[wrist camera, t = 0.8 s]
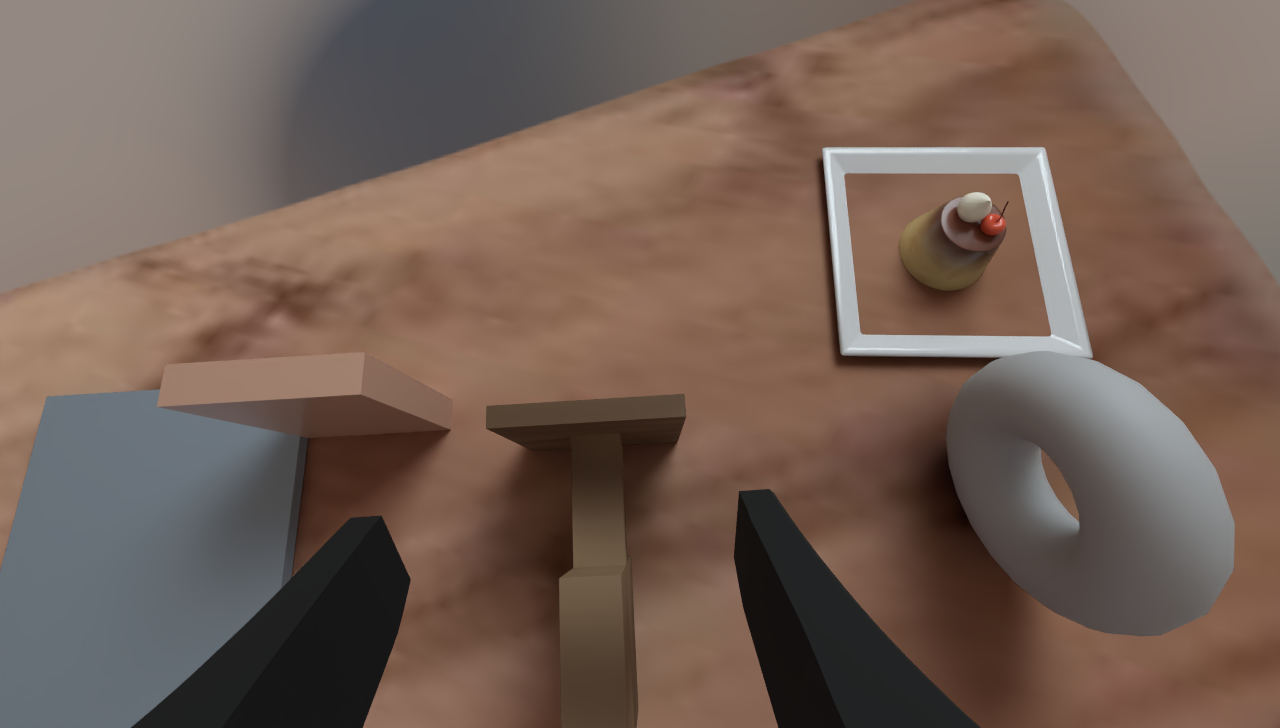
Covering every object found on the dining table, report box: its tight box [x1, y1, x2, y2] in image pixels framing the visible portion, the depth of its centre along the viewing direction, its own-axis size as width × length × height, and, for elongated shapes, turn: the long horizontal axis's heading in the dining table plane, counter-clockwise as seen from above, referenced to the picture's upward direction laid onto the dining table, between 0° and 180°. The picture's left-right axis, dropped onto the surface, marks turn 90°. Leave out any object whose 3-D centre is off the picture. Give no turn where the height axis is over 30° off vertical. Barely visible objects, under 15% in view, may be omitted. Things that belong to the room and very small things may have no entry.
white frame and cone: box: [822, 147, 1093, 359], centre depth 25 cm, size 12×12×5 cm
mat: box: [0, 390, 308, 728], centre depth 22 cm, size 26×13×1 cm, turn 3°
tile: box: [157, 352, 452, 438], centre depth 21 cm, size 2×7×8 cm, turn 94°
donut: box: [946, 351, 1235, 636], centre depth 19 cm, size 10×3×10 cm, turn 12°
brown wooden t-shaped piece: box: [486, 394, 686, 728], centre depth 20 cm, size 12×7×7 cm, turn 3°
